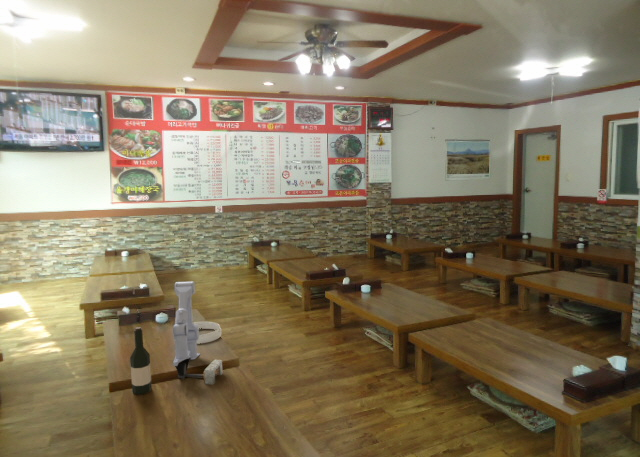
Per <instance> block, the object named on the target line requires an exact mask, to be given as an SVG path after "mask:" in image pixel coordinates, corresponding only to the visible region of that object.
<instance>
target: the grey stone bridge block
mask: <svg viewBox="0 0 640 457" xmlns="http://www.w3.org/2000/svg"><path fill="white" fill-rule="evenodd" d="M204 371H205V380H204V382H205V383H204V385H215V383H216V376H217V375H220V376H222V375H223V373H224V372H223V360H222V359H213V361H212V362H211V363H210V364H209V365H208V366H207V367H206V368H205V369H204ZM215 373H216V375H215Z"/></svg>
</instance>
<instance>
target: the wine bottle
mask: <svg viewBox="0 0 640 457" xmlns="http://www.w3.org/2000/svg"><path fill="white" fill-rule="evenodd" d="M133 332H134V333H133V334H134V345H135V346H134V350H133V351H132V353H131V355H130V357H129V362H130V374H131V376H130V377H131V392H133V393H132V394H134V395H135V394H136V396H137V395H141V396H142V395H144V394H147V393H150V392H151V391H152V387H153V386H152V370H151V356H150V353H149V352H148V351H147V349H146V348H145V347H144V338H143V335H144V334H143V328H142V327H141V326H137V327H135V328H134V330H133Z"/></svg>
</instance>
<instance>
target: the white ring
mask: <svg viewBox="0 0 640 457" xmlns="http://www.w3.org/2000/svg"><path fill="white" fill-rule="evenodd" d="M193 323H194V324H196V325H197V326H198V329H199V328H200V329H199V330H204V329H206V330H214V331H211V332H208V333H203V334H199V339H198V340H197V345H199V344H200V343H201V344H207V343H210V342H214V341H216V340H218V339H219V338H220V337H221V336H222V333H223V332H222V328H221V326H220V324H219V323H218V322H216V321H215V322H214V321H207V320H205V321H194V322H193ZM201 328H202V329H201Z"/></svg>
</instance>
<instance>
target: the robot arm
mask: <svg viewBox="0 0 640 457" xmlns="http://www.w3.org/2000/svg"><path fill="white" fill-rule="evenodd" d="M174 292H175V294H176V297H178V309H177V310H176V311H175V318H174V319H175V320H174V324H173V327H172V334H173V340H174V346H175V357H174V360H173V362H172V366H173V367H174V368H175V369H176V371H177V375H178V374H179V376H183V375H184V367H185V364H186V371H187V372H188V367H189V363H190V361H191V360H193V361H194V360H195V359H197V358H198V357H199V356H200V355H201V353H199V352H198V346H197V345H198V344H197V340H198V339H199V335H200V329H198V326H197V325H196V324H194V322H193V321H194V320H193V318H194V317H193V307H192V306H193V302H192V301H193V300H192V296H193V295H195V294H196V283H195V281H194V280H191V281H189V280H188V281H176V282H175V283H174Z"/></svg>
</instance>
